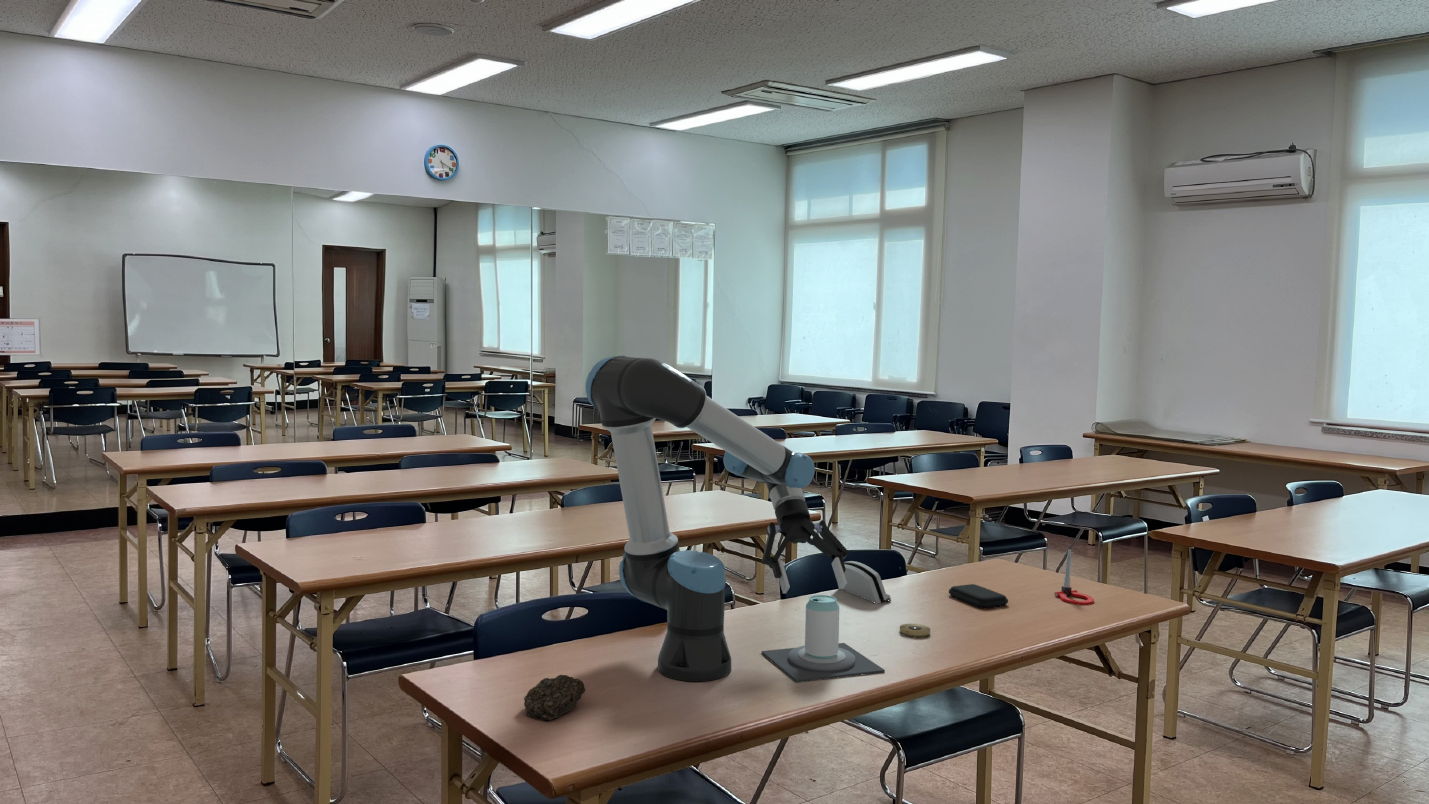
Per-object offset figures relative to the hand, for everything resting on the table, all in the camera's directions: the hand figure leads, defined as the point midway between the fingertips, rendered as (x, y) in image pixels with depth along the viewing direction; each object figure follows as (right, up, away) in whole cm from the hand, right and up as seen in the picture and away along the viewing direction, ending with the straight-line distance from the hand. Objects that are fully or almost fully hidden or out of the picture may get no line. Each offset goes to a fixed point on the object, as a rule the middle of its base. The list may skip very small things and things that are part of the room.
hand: (815, 588), depth 214 cm
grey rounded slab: (+17, -11, +47) cm, 52 cm away
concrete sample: (-52, -16, -33) cm, 63 cm away
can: (+1, -13, -5) cm, 14 cm away
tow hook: (+74, -12, +48) cm, 89 cm away
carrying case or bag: (+48, -12, +45) cm, 67 cm away
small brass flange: (+25, -13, +16) cm, 33 cm away
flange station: (+1, -15, -5) cm, 16 cm away
